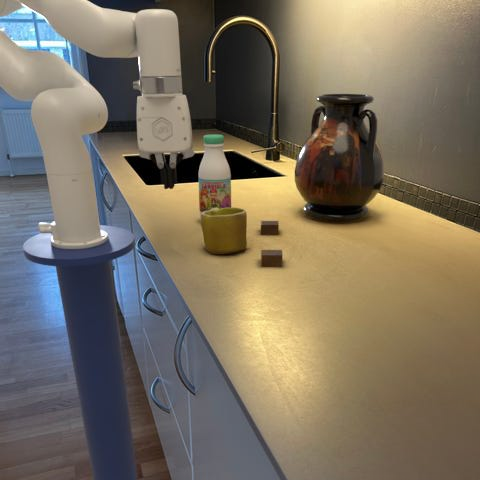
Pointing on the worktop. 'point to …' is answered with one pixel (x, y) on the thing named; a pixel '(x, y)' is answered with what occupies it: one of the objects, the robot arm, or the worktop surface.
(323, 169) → the amphora vase
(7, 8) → the robot arm
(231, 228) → the mug
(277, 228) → the block
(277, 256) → the block
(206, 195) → the milk bottle
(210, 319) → the worktop surface
